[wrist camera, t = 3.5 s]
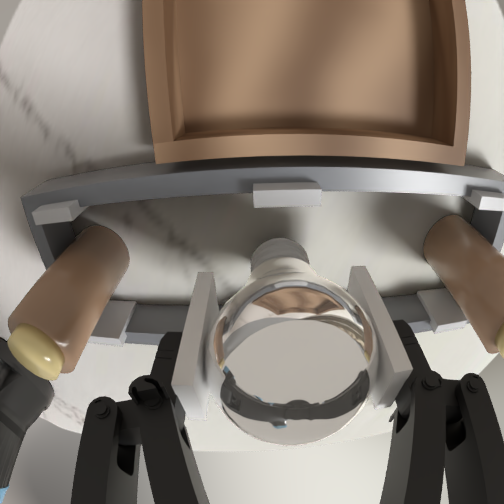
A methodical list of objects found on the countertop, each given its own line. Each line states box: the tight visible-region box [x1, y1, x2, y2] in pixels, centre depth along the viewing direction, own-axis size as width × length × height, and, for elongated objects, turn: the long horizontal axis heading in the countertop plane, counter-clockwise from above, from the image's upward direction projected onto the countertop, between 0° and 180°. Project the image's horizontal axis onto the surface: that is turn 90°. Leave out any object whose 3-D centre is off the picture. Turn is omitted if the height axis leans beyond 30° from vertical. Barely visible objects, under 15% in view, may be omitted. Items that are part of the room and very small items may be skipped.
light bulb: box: [204, 238, 379, 446], centre depth 13 cm, size 7×7×12 cm
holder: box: [21, 155, 504, 347], centre depth 17 cm, size 31×12×4 cm, turn 93°
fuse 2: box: [423, 215, 504, 358], centre depth 14 cm, size 4×4×10 cm
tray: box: [142, 0, 471, 166], centre depth 10 cm, size 16×14×3 cm
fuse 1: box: [7, 225, 130, 380], centre depth 15 cm, size 4×4×10 cm
